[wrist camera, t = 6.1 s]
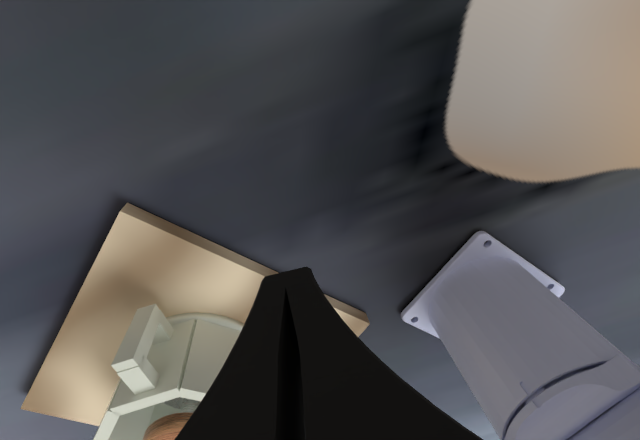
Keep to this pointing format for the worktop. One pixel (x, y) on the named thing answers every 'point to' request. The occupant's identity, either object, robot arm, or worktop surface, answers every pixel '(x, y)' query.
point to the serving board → (140, 291)
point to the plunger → (171, 420)
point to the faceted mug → (164, 367)
